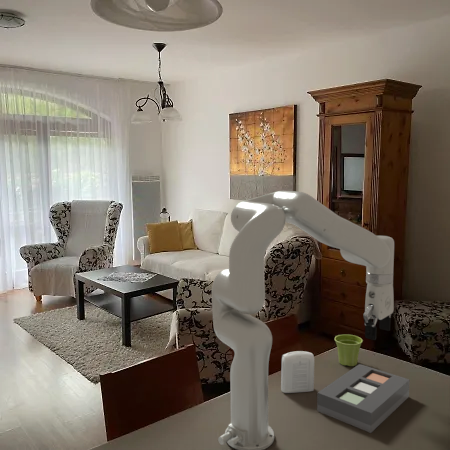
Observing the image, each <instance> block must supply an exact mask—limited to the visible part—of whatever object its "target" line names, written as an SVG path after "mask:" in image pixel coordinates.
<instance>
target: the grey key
mask: <svg viewBox="0 0 450 450" xmlns="http://www.w3.org/2000/svg"><path fill="white" fill-rule="evenodd" d="M353 388H355V389H358V390H361V391H364V392H367V393H370V394H371V393H372V392H373V391H374V390H376V389H377V387H374V386H371V385H368V384H365V383H362V382H360V383H358V384H357V385H356V386H354V387H353Z"/></svg>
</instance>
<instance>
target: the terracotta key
mask: <svg viewBox="0 0 450 450" xmlns="http://www.w3.org/2000/svg"><path fill="white" fill-rule="evenodd" d="M366 378H367V379H370V380H373V381H376V382H379V383H382V384H383V383H384V382H385V381H387V380H388V379H389V378H387V377H384V376H380V375H377V374H374V373H372V374H370V375H369V376H368V377H366Z"/></svg>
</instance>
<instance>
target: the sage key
mask: <svg viewBox="0 0 450 450" xmlns="http://www.w3.org/2000/svg"><path fill="white" fill-rule="evenodd" d="M340 399H342V400H345V401H348V402H350V403H353V404H356V405H357V404H358V403H360V402H361V401H362V400H363V399H364V398H363V397H360V396H357V395H355V394H352V393H349V392H346V393H345V394H344V395H342V396H341V397H340Z"/></svg>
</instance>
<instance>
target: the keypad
mask: <svg viewBox="0 0 450 450" xmlns="http://www.w3.org/2000/svg"><path fill="white" fill-rule="evenodd" d="M372 373H374V374H377V375H380V376H384V377H387V378H389V379H388V380H387V381H385V382H384V383H383V384H382V383H379V382H376V381H373V380H370V379H367V378H366V377H368V376H369V375H370V374H372ZM360 382H362V383H365V384H368V385H371V386H374V387H377V389H376V390H374V391H373V392H372V393H371V394H370V393H367V392H364V391H361V390H358V389H355V388H353V387H354V386H356V385H357V384H358V383H360ZM410 383H411V382H410V379H409V378H407V377H403V376H400V375H397V374H393V373H389V372H387V371H383V370H380V369H376V368H373V367H371V366H367V365H364V364H360V363H358V364H356V365H355V367H354V366H353V368H351V369H350V370H348V371H347V372H346V373H344V374H343V375H341V376H340V377H338V378H336V379H335V380H334V381H333V382H331V383H330V384H328V385H326V386H325V387H324V388H322V389H321V390H319V391H318V392H317V393H316V397H317V398H316V399H317V400H316V403H317V405H316V411H317V412H319V413H321V414H322V415H323V414H324V415H326V416H328V417H330V418H333V419H335V420H338V421H340V422H343V423H345V424H348V425H349V426H353V427H355V428H357V429H360V430H362V431H365V432H368V433H370V434H372V433H373V432H374V431H375V430H376V429H377V428H378V427H380V425H381V424H383V422H384V421H385V420H386V419H388V417H389V416H391V414H393V412H395V411H396V410H397V409H398V408H399V407H400V406H401V405H402V404H403V403H404V402H405V401H406V400H407V399H409V397H410ZM346 392H349V393H352V394H355V395H357V396H360V397H363V398H364V399H363V400H362V401H361V402H360V403H358V404H357V405H356V404H353V403H350V402H348V401H345V400H342V399H340V397H341V396H342V395H344V394H345V393H346Z"/></svg>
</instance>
